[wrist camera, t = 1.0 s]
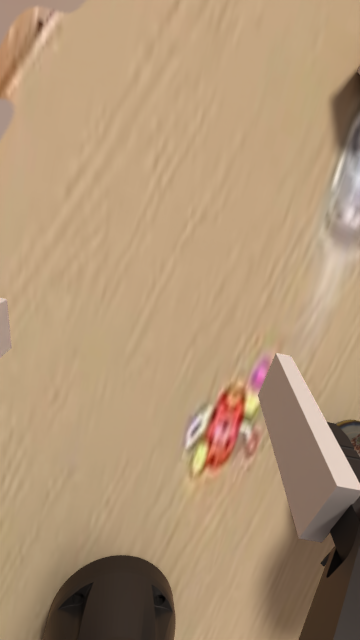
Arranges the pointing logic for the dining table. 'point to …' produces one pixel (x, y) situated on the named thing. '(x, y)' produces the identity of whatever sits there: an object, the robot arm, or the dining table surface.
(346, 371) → the dining table surface
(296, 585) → the dining table surface
